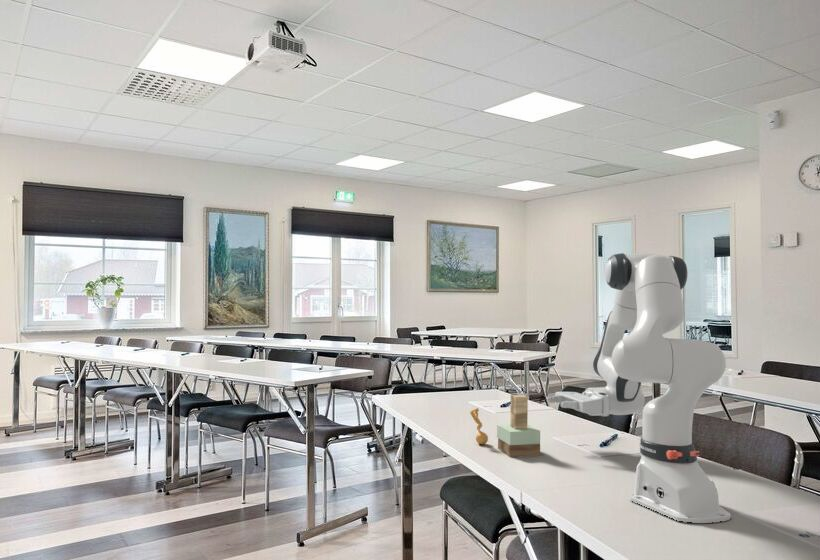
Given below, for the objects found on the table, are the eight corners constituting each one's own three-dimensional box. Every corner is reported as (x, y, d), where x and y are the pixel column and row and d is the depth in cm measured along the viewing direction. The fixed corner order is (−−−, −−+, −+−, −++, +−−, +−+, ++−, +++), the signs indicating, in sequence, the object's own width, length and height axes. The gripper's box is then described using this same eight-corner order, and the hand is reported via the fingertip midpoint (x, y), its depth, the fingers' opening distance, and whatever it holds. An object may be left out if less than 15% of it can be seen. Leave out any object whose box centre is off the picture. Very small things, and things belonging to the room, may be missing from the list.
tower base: (540, 456, 183) (540, 443, 183) (509, 458, 180) (509, 444, 181) (527, 448, 192) (527, 436, 192) (497, 449, 190) (498, 437, 190)
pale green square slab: (540, 443, 183) (540, 430, 183) (510, 445, 180) (510, 431, 180) (525, 436, 192) (525, 423, 193) (496, 437, 190) (497, 424, 190)
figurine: (491, 447, 191) (491, 410, 192) (472, 447, 190) (473, 410, 191) (484, 441, 199) (485, 405, 200) (466, 441, 199) (467, 405, 199)
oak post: (527, 428, 185) (527, 396, 185) (515, 429, 184) (515, 396, 184) (522, 426, 189) (522, 394, 189) (510, 426, 188) (510, 394, 188)
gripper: (578, 387, 202) (540, 387, 199) (611, 396, 182) (569, 397, 179) (578, 405, 202) (540, 406, 199) (611, 417, 182) (569, 418, 179)
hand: (554, 402), depth 189 cm, fingers open, 8 cm apart
